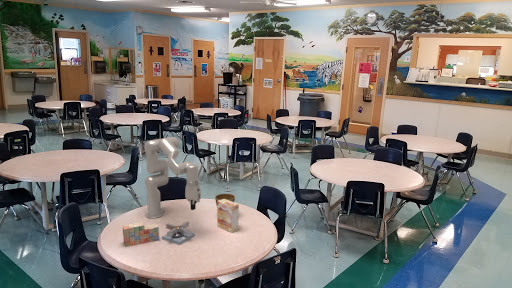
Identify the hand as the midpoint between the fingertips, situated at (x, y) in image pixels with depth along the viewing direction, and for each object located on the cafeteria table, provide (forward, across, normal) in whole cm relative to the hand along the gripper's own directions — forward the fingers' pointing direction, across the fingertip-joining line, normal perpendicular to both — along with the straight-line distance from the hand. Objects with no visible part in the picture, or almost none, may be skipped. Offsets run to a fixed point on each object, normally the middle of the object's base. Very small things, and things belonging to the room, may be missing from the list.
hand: (193, 209), depth 245 cm
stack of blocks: (+19, +24, +24) cm, 39 cm away
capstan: (+16, +7, +8) cm, 19 cm away
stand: (+18, +7, +8) cm, 21 cm away
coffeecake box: (+19, -13, -21) cm, 31 cm away
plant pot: (+19, 0, -37) cm, 42 cm away
